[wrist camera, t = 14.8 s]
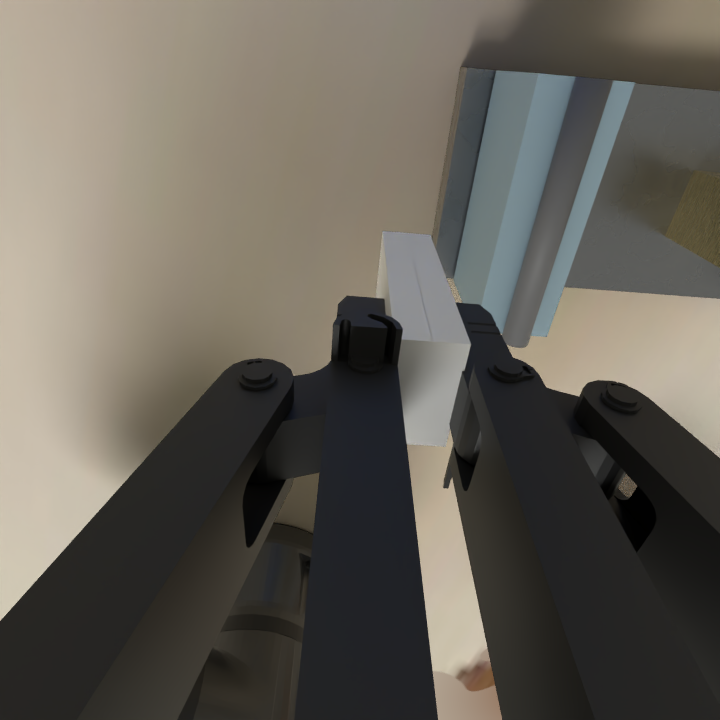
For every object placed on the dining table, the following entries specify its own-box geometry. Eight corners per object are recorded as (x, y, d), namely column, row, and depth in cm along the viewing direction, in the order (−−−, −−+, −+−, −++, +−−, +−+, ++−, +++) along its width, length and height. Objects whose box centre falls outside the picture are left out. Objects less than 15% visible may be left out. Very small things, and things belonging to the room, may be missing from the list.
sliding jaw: (453, 280, 31) (480, 345, 24) (496, 70, 24) (550, 74, 17) (511, 284, 31) (555, 350, 24) (569, 77, 25) (653, 83, 18)
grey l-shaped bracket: (427, 265, 33) (447, 329, 25) (460, 67, 26) (502, 69, 18) (777, 292, 34) (901, 361, 26) (892, 108, 27) (1104, 126, 20)
